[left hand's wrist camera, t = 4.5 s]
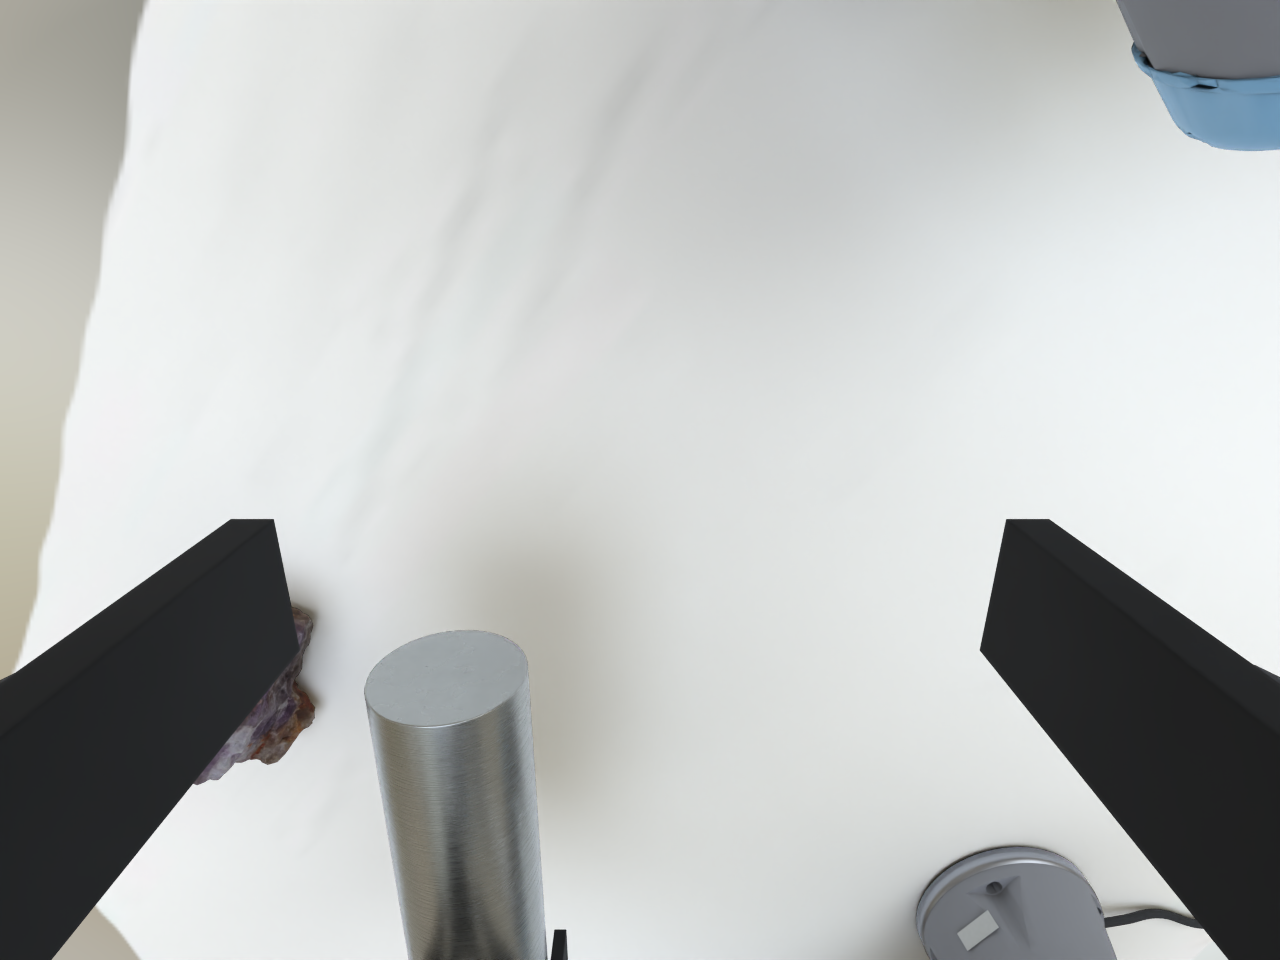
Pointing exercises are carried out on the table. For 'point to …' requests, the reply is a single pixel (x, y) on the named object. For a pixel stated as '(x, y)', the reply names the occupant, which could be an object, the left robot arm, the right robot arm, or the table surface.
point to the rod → (460, 795)
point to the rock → (270, 717)
